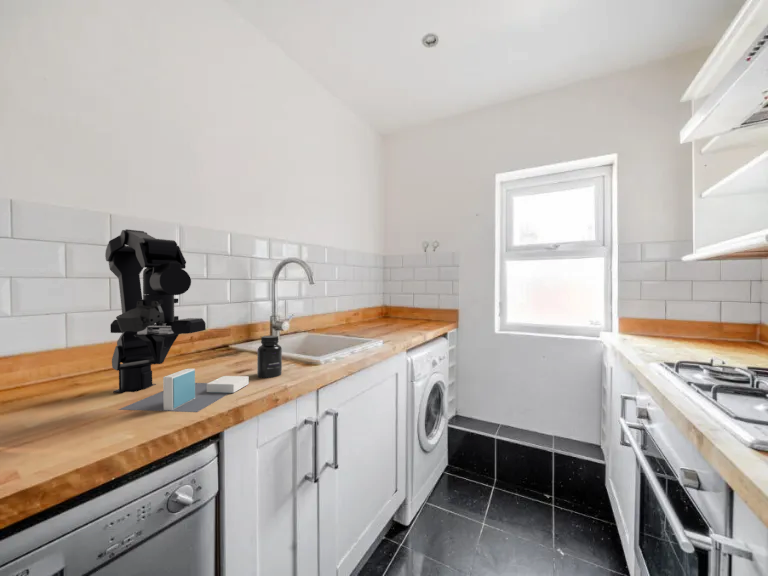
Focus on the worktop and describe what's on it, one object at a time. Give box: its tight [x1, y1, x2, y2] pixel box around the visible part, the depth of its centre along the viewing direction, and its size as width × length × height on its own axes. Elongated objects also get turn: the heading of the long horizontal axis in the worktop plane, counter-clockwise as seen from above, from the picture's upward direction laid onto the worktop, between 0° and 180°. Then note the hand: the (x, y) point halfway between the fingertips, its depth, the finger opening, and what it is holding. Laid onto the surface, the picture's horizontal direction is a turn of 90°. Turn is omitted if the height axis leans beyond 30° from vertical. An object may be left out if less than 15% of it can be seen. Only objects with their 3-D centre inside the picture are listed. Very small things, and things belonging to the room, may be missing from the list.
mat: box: [118, 382, 231, 413], centre depth 76 cm, size 18×19×1 cm
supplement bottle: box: [256, 335, 283, 379], centre depth 93 cm, size 7×7×12 cm
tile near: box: [162, 368, 196, 410], centre depth 70 cm, size 2×7×7 cm, turn 175°
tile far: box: [207, 375, 250, 394], centre depth 81 cm, size 2×7×7 cm
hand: (159, 363), depth 71 cm, fingers closed
